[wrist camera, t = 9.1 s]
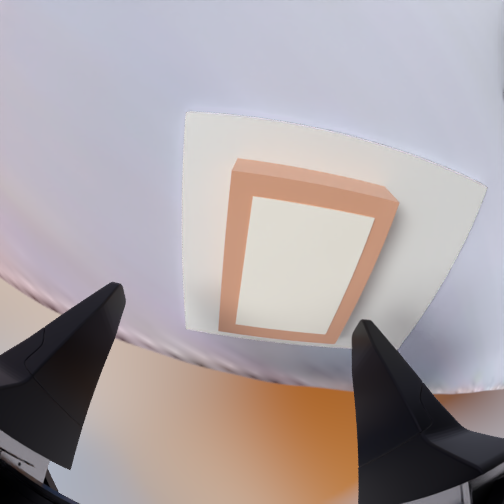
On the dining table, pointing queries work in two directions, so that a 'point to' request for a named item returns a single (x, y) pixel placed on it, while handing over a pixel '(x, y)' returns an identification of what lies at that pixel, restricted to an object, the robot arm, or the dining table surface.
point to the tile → (298, 250)
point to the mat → (339, 163)
